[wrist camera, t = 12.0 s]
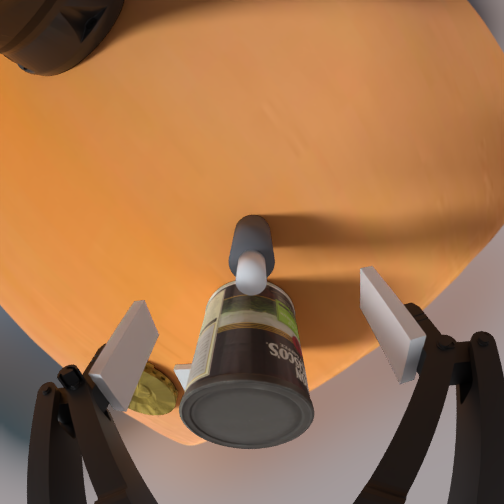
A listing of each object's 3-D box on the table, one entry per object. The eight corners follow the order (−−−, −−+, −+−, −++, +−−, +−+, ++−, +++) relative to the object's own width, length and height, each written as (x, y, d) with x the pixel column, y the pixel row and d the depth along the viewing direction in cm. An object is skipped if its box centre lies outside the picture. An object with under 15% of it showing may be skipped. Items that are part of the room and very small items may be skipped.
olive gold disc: (145, 347, 34) (140, 358, 32) (193, 399, 38) (191, 410, 36) (93, 363, 36) (87, 372, 34) (138, 408, 40) (135, 417, 38)
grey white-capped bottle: (231, 218, 27) (219, 262, 17) (267, 212, 26) (273, 253, 17) (238, 250, 28) (230, 307, 19) (272, 245, 28) (280, 300, 18)
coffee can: (268, 261, 28) (277, 361, 15) (309, 329, 32) (331, 429, 19) (186, 301, 30) (151, 401, 17) (234, 360, 34) (227, 456, 21)
